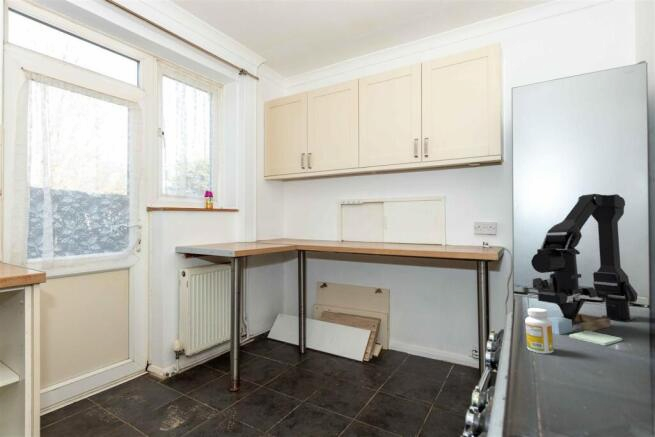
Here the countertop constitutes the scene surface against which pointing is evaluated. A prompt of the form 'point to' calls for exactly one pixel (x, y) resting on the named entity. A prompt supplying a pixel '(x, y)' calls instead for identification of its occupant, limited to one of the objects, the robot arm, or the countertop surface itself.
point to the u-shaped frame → (591, 322)
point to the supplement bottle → (539, 331)
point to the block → (561, 325)
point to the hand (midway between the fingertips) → (569, 323)
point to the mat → (595, 337)
